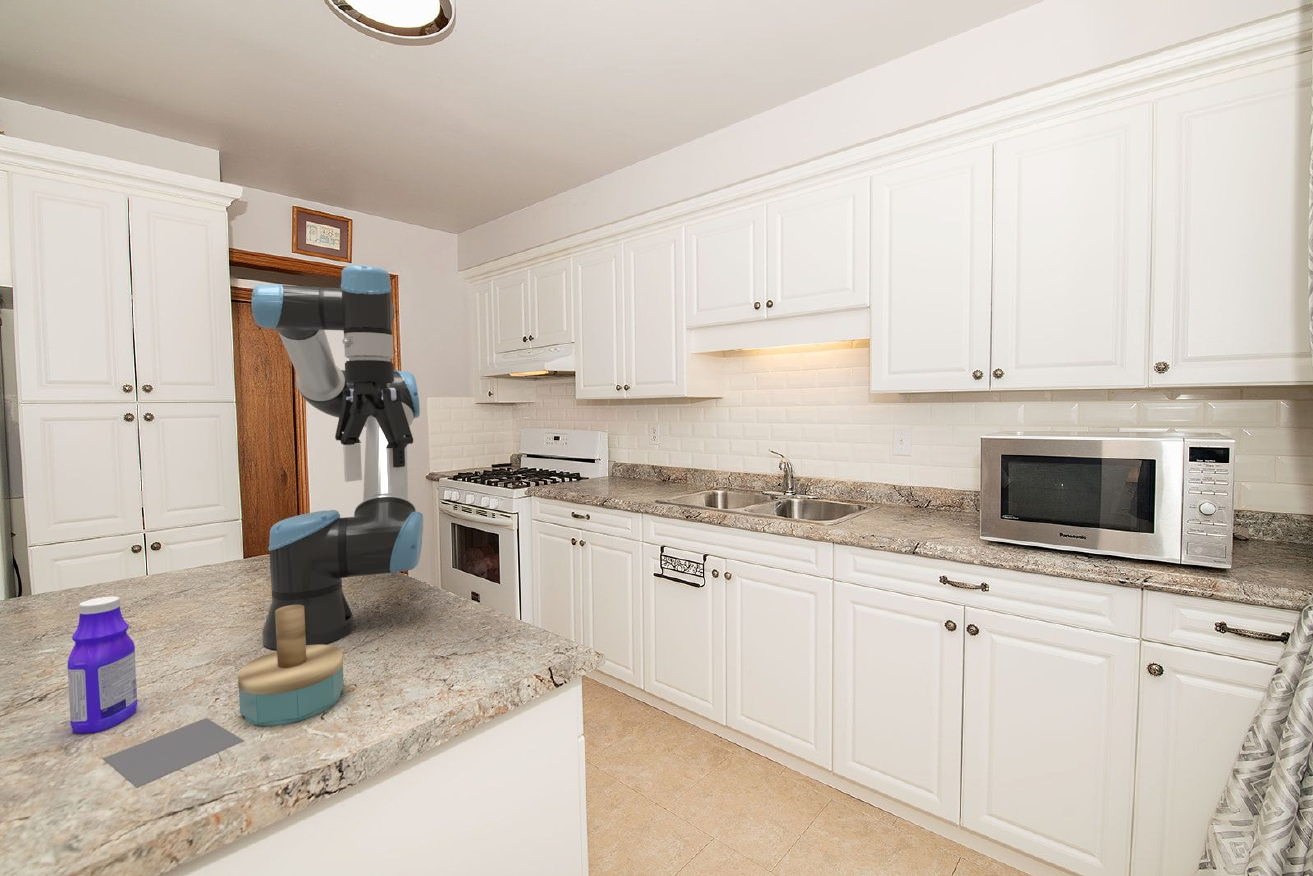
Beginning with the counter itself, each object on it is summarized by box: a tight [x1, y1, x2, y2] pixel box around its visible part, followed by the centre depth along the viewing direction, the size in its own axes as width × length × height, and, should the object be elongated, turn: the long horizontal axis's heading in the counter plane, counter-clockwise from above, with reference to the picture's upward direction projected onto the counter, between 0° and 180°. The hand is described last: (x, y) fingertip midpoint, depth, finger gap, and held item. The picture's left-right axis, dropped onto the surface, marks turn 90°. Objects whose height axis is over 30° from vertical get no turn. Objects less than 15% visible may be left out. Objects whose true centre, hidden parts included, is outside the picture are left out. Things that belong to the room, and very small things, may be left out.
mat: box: [102, 717, 245, 788], centre depth 75 cm, size 11×11×1 cm
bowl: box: [238, 665, 345, 727], centre depth 86 cm, size 12×12×5 cm
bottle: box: [67, 596, 138, 734], centre depth 82 cm, size 7×6×17 cm
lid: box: [237, 605, 344, 694], centre depth 86 cm, size 13×13×10 cm
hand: (374, 483), depth 102 cm, fingers open, 13 cm apart
